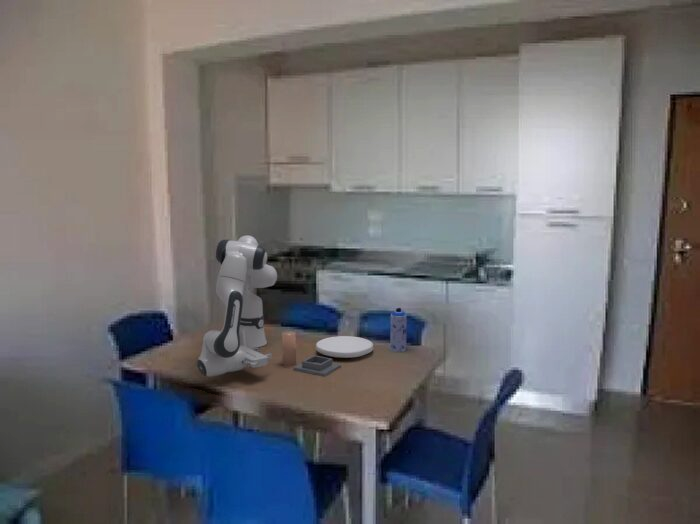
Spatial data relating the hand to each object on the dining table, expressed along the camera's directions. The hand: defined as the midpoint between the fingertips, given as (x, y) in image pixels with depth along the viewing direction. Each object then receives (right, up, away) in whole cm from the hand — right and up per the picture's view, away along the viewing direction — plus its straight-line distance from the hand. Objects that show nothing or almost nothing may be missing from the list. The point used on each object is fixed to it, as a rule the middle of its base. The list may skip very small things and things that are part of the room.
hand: (265, 352), depth 252 cm
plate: (+34, -4, +25) cm, 42 cm away
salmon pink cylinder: (+9, -6, +9) cm, 14 cm away
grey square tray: (+22, -7, +3) cm, 23 cm away
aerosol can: (+59, -3, +29) cm, 65 cm away
